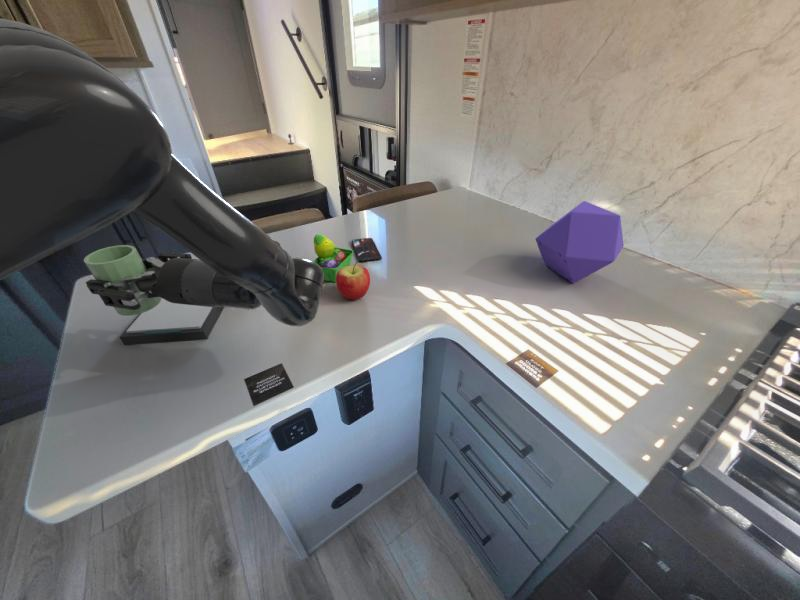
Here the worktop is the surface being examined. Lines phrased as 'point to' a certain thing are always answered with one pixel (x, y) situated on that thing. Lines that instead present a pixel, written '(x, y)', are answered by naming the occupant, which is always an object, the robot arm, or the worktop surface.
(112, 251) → the tumbler
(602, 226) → the purple polyhedron
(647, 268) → the worktop surface
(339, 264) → the fruit basket
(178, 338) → the scale
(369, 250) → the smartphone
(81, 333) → the worktop surface
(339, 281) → the apple
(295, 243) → the worktop surface
